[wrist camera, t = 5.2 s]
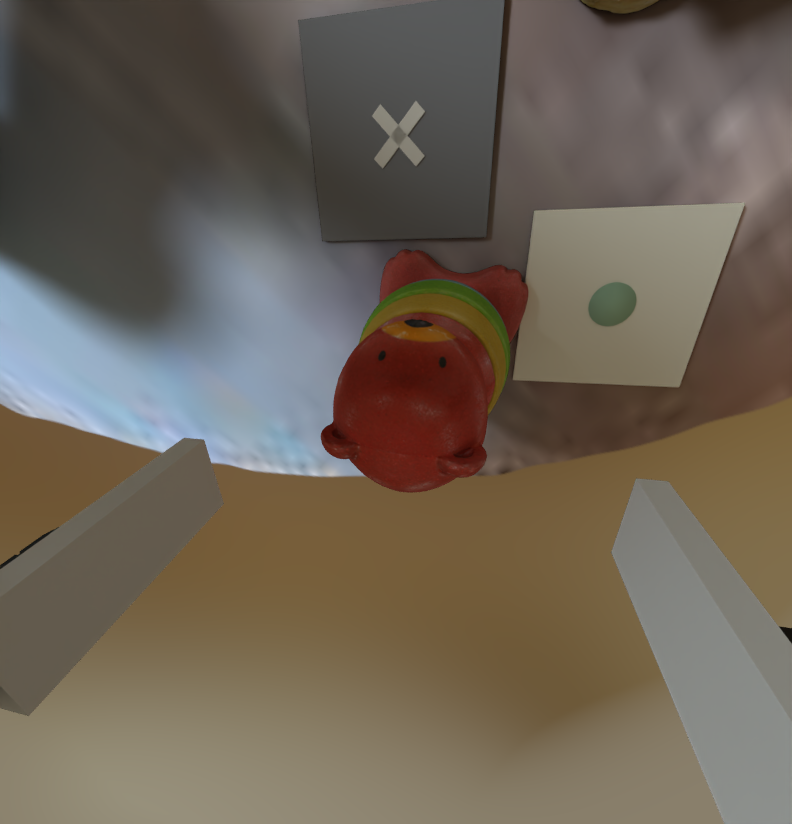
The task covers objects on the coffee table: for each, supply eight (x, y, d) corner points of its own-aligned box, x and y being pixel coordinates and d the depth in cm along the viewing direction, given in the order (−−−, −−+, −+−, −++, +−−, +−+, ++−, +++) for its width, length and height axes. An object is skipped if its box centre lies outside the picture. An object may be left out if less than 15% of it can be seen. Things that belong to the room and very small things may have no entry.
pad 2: (512, 378, 30) (513, 380, 29) (533, 210, 24) (535, 210, 24) (676, 385, 27) (679, 387, 27) (741, 203, 22) (746, 202, 21)
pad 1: (324, 241, 27) (321, 241, 27) (301, 23, 22) (297, 19, 22) (486, 236, 25) (486, 237, 25) (504, -5, 20) (505, -11, 19)
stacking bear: (536, 271, 25) (609, 350, 10) (495, 397, 30) (502, 579, 15) (388, 243, 27) (250, 276, 11) (372, 369, 32) (262, 509, 16)
